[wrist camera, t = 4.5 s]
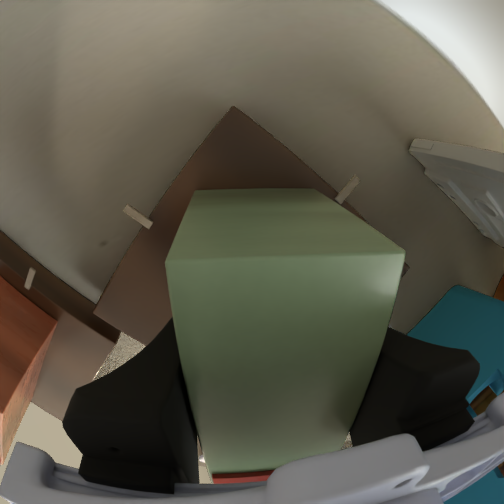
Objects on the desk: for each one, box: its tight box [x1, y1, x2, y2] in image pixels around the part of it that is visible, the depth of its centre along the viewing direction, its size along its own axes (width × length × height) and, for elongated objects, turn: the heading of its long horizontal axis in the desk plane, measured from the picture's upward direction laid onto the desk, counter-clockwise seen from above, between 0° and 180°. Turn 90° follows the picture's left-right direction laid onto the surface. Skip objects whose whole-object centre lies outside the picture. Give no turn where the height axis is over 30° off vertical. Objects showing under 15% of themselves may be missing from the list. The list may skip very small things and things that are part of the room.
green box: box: [165, 188, 406, 484], centre depth 11 cm, size 10×5×7 cm, turn 0°
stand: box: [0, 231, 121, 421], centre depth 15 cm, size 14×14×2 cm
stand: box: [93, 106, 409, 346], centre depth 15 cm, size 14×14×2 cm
